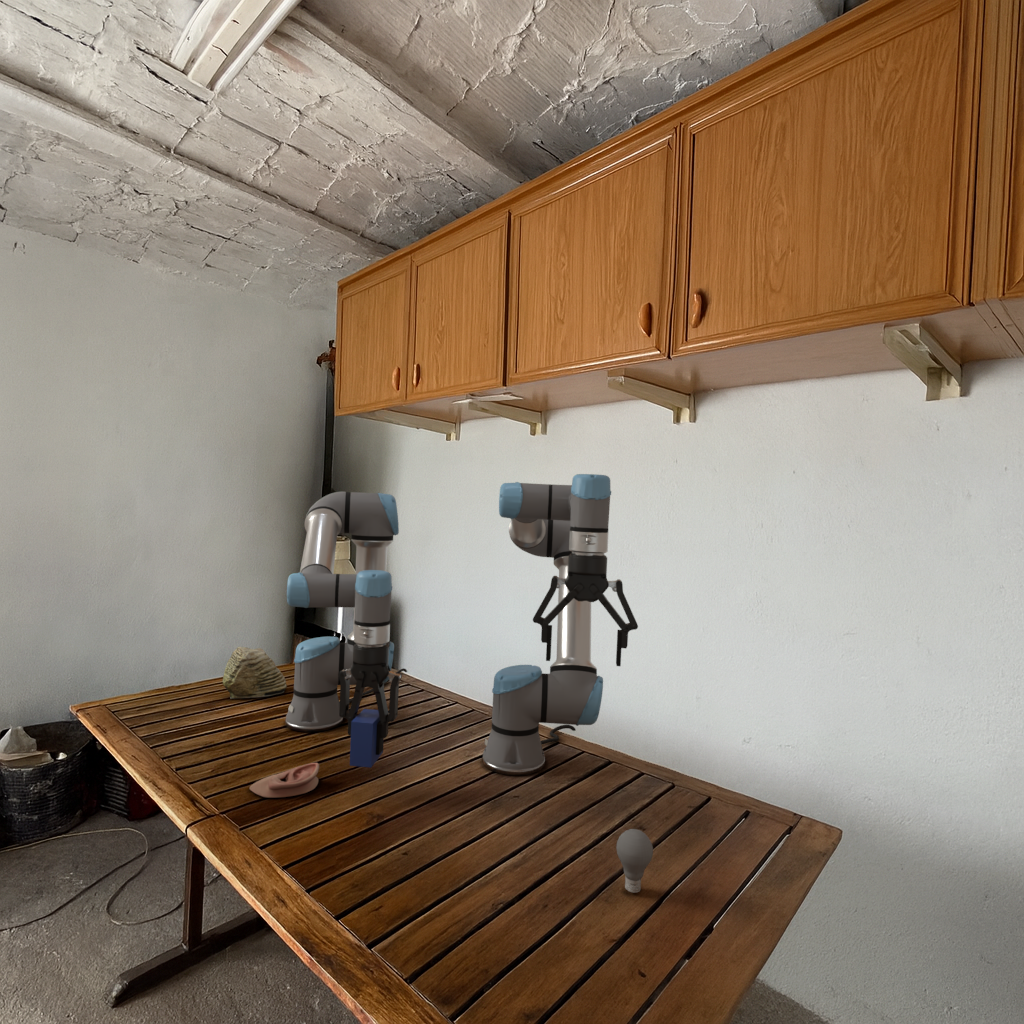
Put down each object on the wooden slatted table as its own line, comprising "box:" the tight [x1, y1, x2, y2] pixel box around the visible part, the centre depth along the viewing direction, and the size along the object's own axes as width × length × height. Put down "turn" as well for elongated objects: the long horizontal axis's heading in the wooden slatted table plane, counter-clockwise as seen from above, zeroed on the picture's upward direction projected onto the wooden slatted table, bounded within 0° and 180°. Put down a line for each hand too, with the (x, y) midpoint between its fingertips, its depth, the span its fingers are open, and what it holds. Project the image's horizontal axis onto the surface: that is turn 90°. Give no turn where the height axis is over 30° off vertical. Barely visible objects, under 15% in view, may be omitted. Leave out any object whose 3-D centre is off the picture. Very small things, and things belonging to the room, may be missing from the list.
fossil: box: [222, 646, 288, 699], centre depth 198 cm, size 9×18×15 cm, turn 132°
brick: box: [349, 708, 385, 769], centre depth 136 cm, size 5×8×9 cm, turn 174°
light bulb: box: [615, 828, 654, 894], centre depth 106 cm, size 6×6×10 cm
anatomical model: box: [249, 762, 320, 799], centre depth 137 cm, size 13×4×12 cm
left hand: (367, 750), depth 136 cm, fingers closed on brick, 5 cm apart
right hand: (583, 662), depth 124 cm, fingers open, 13 cm apart
